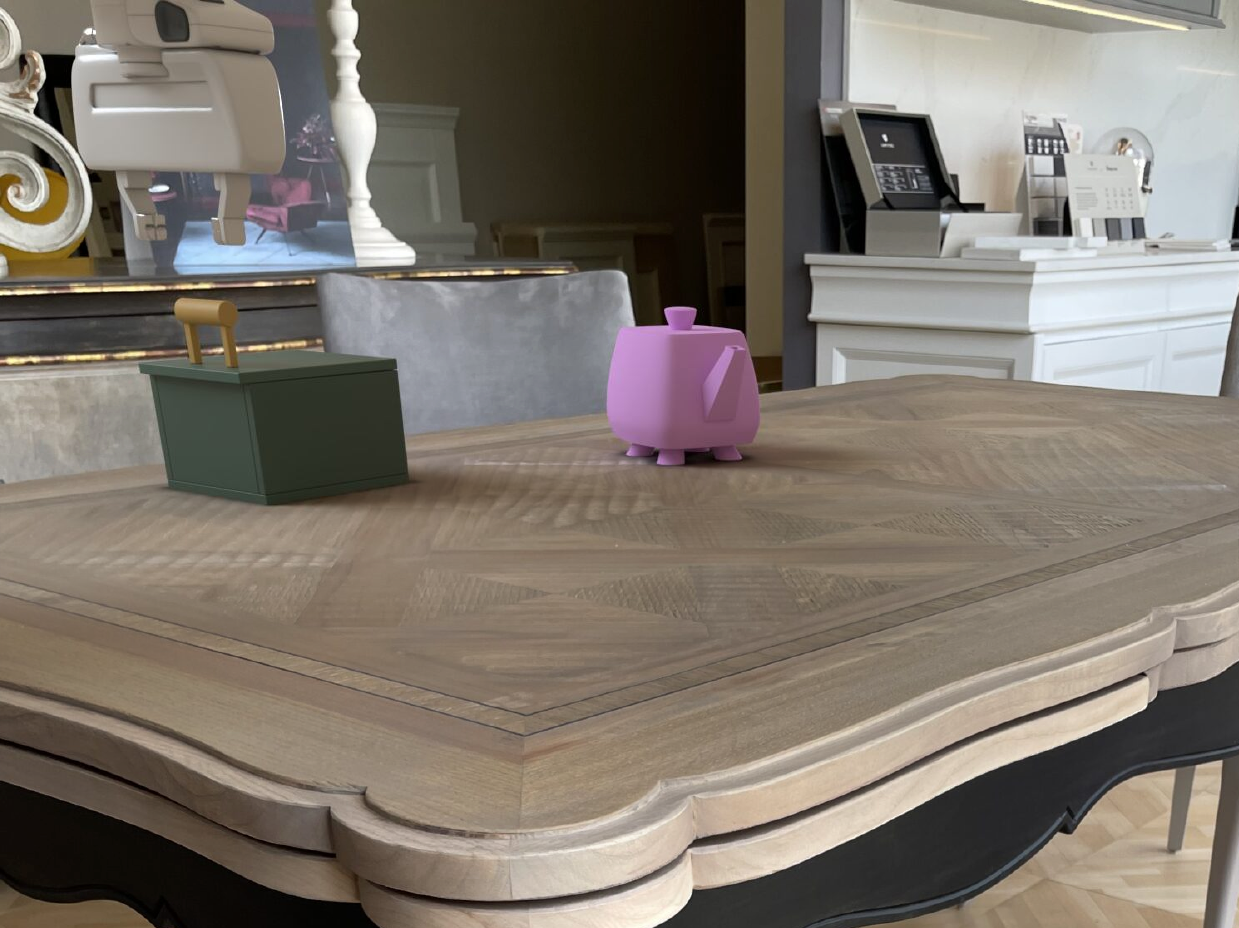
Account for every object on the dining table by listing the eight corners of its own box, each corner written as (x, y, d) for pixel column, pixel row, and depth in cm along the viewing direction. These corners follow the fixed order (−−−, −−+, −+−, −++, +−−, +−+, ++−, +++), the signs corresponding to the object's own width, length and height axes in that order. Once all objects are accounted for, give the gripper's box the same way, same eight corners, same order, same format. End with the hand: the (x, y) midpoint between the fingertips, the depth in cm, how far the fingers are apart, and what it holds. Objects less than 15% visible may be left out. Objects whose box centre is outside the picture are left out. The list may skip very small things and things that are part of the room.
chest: (267, 506, 122) (249, 383, 117) (169, 489, 128) (148, 372, 124) (410, 483, 132) (398, 369, 128) (312, 468, 138) (298, 360, 134)
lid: (240, 384, 117) (228, 304, 114) (139, 373, 123) (125, 297, 121) (398, 369, 128) (390, 295, 125) (297, 359, 134) (288, 289, 132)
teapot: (578, 448, 151) (570, 302, 145) (691, 440, 157) (688, 300, 151) (678, 477, 136) (674, 316, 130) (798, 467, 142) (800, 312, 136)
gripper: (34, 23, 114) (71, 238, 120) (211, 12, 103) (241, 248, 110) (112, 31, 118) (143, 238, 125) (289, 22, 108) (313, 248, 115)
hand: (190, 243), depth 117 cm, fingers open, 8 cm apart
